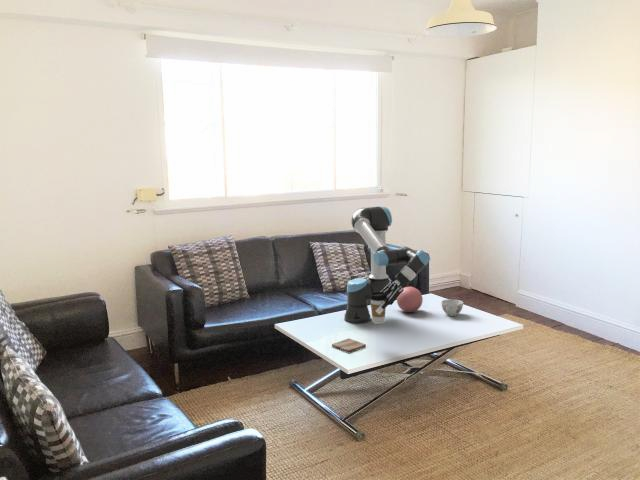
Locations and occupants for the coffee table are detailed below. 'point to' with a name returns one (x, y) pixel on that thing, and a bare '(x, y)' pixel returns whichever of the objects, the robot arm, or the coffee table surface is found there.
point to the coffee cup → (376, 301)
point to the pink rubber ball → (410, 299)
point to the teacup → (452, 307)
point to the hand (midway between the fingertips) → (374, 310)
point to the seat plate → (349, 345)
